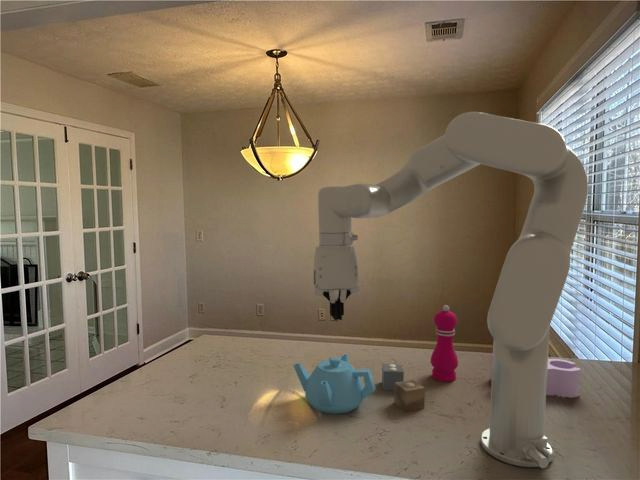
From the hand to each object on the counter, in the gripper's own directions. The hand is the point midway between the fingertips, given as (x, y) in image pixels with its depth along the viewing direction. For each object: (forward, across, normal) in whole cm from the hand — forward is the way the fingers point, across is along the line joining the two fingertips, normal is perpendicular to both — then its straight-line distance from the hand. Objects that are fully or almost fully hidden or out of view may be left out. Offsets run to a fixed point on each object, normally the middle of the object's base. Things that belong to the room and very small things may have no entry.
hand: (337, 318), depth 101 cm
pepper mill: (+21, -32, -10) cm, 40 cm away
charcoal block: (+21, -16, -7) cm, 27 cm away
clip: (+22, -52, +1) cm, 56 cm away
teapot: (+21, +1, -1) cm, 21 cm away
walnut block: (+21, -16, +4) cm, 27 cm away
